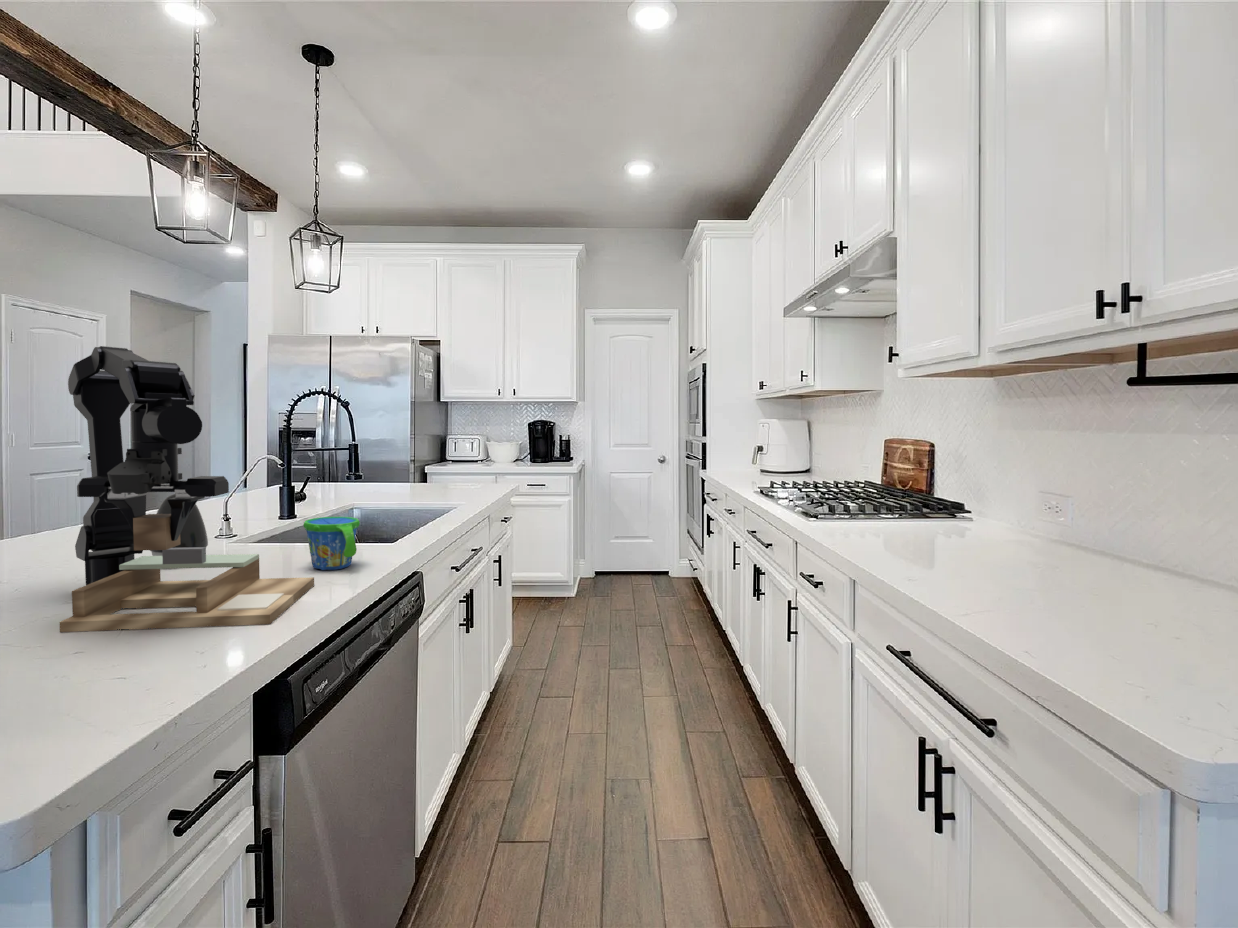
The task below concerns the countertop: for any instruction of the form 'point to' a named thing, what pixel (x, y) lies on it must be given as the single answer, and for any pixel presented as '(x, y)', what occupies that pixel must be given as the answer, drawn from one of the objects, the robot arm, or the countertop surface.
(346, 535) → the snack cup
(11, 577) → the countertop surface
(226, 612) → the puzzle board
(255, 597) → the cream pad
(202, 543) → the dark grey rounded dome
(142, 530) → the walnut block
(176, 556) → the sliding cover
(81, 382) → the robot arm
